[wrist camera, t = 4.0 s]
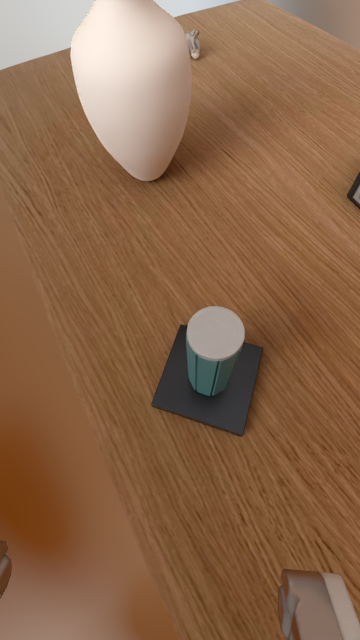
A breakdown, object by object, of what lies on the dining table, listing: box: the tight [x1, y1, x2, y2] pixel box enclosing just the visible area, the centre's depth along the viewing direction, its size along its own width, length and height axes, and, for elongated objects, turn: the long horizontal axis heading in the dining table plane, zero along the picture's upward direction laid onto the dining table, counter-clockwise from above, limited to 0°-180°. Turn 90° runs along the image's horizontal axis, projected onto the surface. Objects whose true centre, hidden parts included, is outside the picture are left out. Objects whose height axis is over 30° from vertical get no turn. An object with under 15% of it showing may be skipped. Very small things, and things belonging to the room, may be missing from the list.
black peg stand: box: [151, 325, 263, 437], centre depth 32 cm, size 10×10×7 cm
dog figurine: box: [184, 28, 200, 59], centre depth 64 cm, size 3×8×6 cm
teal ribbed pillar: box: [186, 306, 245, 396], centre depth 29 cm, size 4×4×12 cm
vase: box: [70, 0, 191, 181], centre depth 38 cm, size 14×14×28 cm
